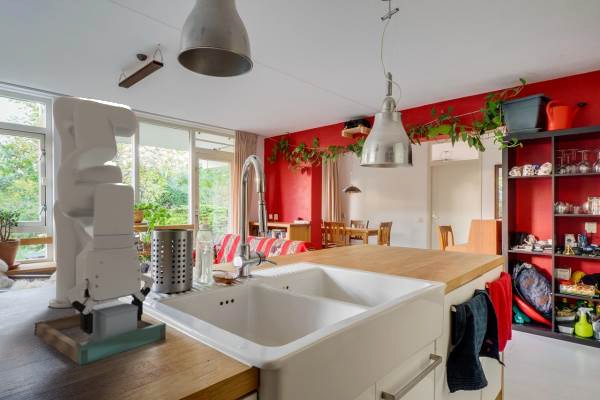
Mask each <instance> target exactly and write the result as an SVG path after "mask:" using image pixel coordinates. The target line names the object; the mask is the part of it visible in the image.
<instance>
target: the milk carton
mask: <svg viewBox="0 0 600 400" xmlns="http://www.w3.org/2000/svg"><path fill="white" fill-rule="evenodd" d="M91 250H93V241H87V245H86V246H85V248H84V249H83V250H82V251H81V252H80V253H79V255H78V256H77V257H76V286H77V285H79V284H80V283H82V282H83V275H84V268H85V262H86V257H87V253H88V251H91ZM84 299H85V298H84V297H83V295H82V292H81V293H79V294H78V295H77V300H78V301H79V302H80V303H82V302H83V301H84ZM118 300H119V298H116V299H111V300H106V301H100V302H97V303H96V304H95V305H99V304H104V303H109V302H113V301H118ZM78 313H80V312H79V311H78V310H76V309H75V314H78Z"/></svg>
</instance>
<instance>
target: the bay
mask: <svg viewBox="0 0 600 400" xmlns="http://www.w3.org/2000/svg"><path fill="white" fill-rule="evenodd" d="M166 325H167V323H166V322H163V321H162V322H157V321H154V320H152V319H149V318H146V317H143V316H141V321H137V330H134V331H131V332H127V333H124V334H120V335H117V336H113V337H110V338H106V339H103V340H99V341H96V342H92V343H90V342H88V340H85V341H83V342H77V341H75V340H73V339H72V338H70V337H68V336H67V335H65V334H64V333H62V332H60V330H64V329H70V328H74V327H78V326H80V313H78V314H76V313H74V314H69V315H66V316H65V315H64V316H61V317H55V318H51V319H47V320H42V321H38V322H37V321H36V322H35V323H34V335H35V336H36V337H38V338H40V339H41V340H42V341H44V343H47V344H48V345H50V346H51V347H53V348H54V349H56V350H57V351H58V352H61V354H63V355H64V356H66V357H67V358H68V359H70V360H72V361H73V362H75V363H76V364H77V365H79V366H83V365H87V364H89V363H92V362H95V361H98V360H102V359H105V358H107V357H110V356H113V355H116V354H119V353H123V352H125V351H129V350H131V349H134V348H137V347H140V346H143V345H147V344H150V343H153V342H155V341H159V340H162V339H166V337H167V334H166V333H167V332H166V330H167V326H166Z"/></svg>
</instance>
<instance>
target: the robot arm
mask: <svg viewBox="0 0 600 400" xmlns="http://www.w3.org/2000/svg"><path fill="white" fill-rule="evenodd" d="M52 115H53V121H54V124H55V127H56V130H57V132H58V135H59V138H60V143H61V154H60V155H61V156H60V166H59V168H58V171H57V175H56V189H57V200H55V202H54V203H53V207H52V211H53V218H54V224H55V232H56V237H55V238H56V263H55V265H56V267H55V268H56V271H55V277H56V278H55V281H56V283H55V298H53V299H50V301H49V303H48V305H49V306H50V307H51V308H56V309H57V308H59V309H60V308H61V309H65V308H67V309H68V308H73V309H75V311H76V310H78V311H79V312H80V325H79V329H80V330H81V331H82V332H83V333H85V334H87V335H88V336H89V334H92V333H93V313H90V311H91V309H92V308H93V307H94V306H95V304H96V303H97V302H100V301H106V300H111V299H116V298H118V299H120V298H121V299H122V298H124V297H125V298H126V297H129V296H130V297H132V298H133V299H132V300H131V303H130V304H132V305H135V306H138V311H137V321H141V317H142V316H143V314H144V313H143V312H144V311H143V309H144V306H143V305H144V302H145V300H146V297H147V296H148V295H149V294H150V292H151V288H153V285H154V282H155V278H153V277H151V276H148V275H145V274H143V273H142V272H141V263H140V258H139V251H138V248H137V247H135V245H136V243H138V242H140V241H141V238H140V235H136V233H135V190H134V187H133V186H132V185H130V184H126V183H123V173H122V172H123V171H122V169H121V167H120V166H119V165H118V164H117V163H115V162H112V160H113V159H115V158H116V157H117V155H118V145H117V139H116V137H122V138H131V137H134V135H135V133H136V131H137V126H138V122H137V121H138V120H137V116H136V114H135V111H133V109H132V108H131V107H129V106H127V105H124V104H119V103H118V104H117V103H113V102H108V101H102V100H97V99H90V98H89V99H88V98H83V97H78V96H69V95H68V96H66V95H65V96H59V97H57V98H56V99H55V100H54V102H53V104H52ZM87 228H92V235H91V234H89V232H87V231H86V229H87ZM87 241H93V250H91V251H88V253H87V257H86V262H85V268H84V275H83V282H82V283H80V284H79V285H77V286H76V257H77V256H78V255H79V253H80V252H81V251H82V250H83V249H84V248H85V246H86V245H87ZM142 282H144V284H143V287H142V286H141V285H142ZM141 287H142V288H141ZM81 292H82V295H83V297H84V298H85V299H84V301H83V302H82V303H80V302H79V301H78V300H77V295H78V294H79V293H81Z"/></svg>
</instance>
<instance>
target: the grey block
mask: <svg viewBox="0 0 600 400" xmlns="http://www.w3.org/2000/svg"><path fill="white" fill-rule="evenodd" d="M137 311H138V306H135V305H132V304H131V303H129V302H126V301H123V300H119V299H118V301H113V302H109V303H104V304H99V305H95V306H94V307H93V308H92V309H91V311H90V313H93V333H92V334H89V335H88V337H87V341H88V342H90V343H92V342H96V341H99V340H103V339H106V338H110V337H113V336H117V335H120V334H124V333H127V332H131V331H134V330H137Z"/></svg>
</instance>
